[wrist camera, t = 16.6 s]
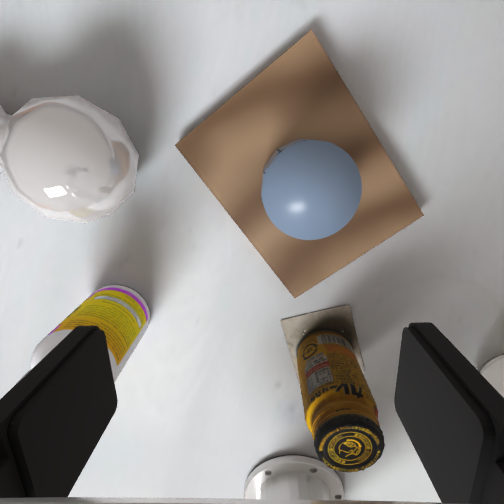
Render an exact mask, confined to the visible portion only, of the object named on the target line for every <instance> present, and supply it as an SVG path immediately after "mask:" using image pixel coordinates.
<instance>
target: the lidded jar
mask: <svg viewBox="0 0 504 504" xmlns="http://www.w3.org/2000/svg"><path fill="white" fill-rule="evenodd" d="M480 374H481V375H482V376H483V377H484V378H485V379H486V380H487V381H488V382H489V383H490V384H491V385H492V386H493V387H494V388H495V389H496V390H497V391H498V392H499V393H500V394H501V395H502V396H503V398H504V354H503V355H500V356H497V357H495V358H493V359H491V360H490V361H489V362H487V363H486V364H485V365H484V366H483V368H482V369H481V371H480Z"/></svg>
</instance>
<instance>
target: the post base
mask: <svg viewBox="0 0 504 504" xmlns="http://www.w3.org/2000/svg"><path fill="white" fill-rule="evenodd" d="M298 139H309V140H320V141H328V142H330V143H333V144H335V145H336V146H338V147H340V148H341V149H343V150H344V151H345V152H347V153H348V154H349V155H350V156H351V158H352V159H353V160H354V162H355V164H356V165H357V167H358V170H359V172H360V176H361V182H362V194H361V199H360V203H359V206H358V208H357V210H356V212H355V214H354V216H353V217H352V218H351V220H350V221H349V222H348V223H347V224H346V225H345V226H344V227H343V228H342V229H341V230H339V231H338V232H336V233H334V234H332V235H330V236H328V237H325V238H322V239H317V240H302V239H297V238H294V237H291V236H289V235H287V234H285V233H283V232H282V231H281V230H279V229H278V228H277V227H276V226H275V225H274V224H273V223H272V221H271V220H270V219H269V217H268V215H267V213H266V211H265V208H264V204H263V202H262V200H261V186H262V177H263V168H264V166H265V164H266V163H267V162H268V160H269V159H270V157H271V156H272V155H273V153H274V152H275V150H277V151H279V150H278V148H279V147H281V146H284V145H286V144H288V143H290V142H292V141H294V140H298ZM175 146H176V147H177V149H178V150H179V151H180V152H181V154H182V155H183V156H184V158H185V159H186V160H187V161H188V163H189V164H190V165H191V166H192V168H193V169H194V170H195V172H196V173H197V174H198V175H199V177H200V178H201V179H202V181H203V182H204V183H205V184H206V186H207V187H208V188H209V189H210V191H211V192H212V193H213V195H214V196H215V197H216V198H217V200H218V201H219V202H220V204H221V205H222V206H223V207H224V209H225V210H226V211H227V212H228V214H229V215H230V216H231V218H232V219H233V220H234V221H235V223H236V224H237V225H238V227H239V228H240V229H241V230H242V232H243V233H244V234H245V235H246V237H247V238H248V239H249V241H250V242H251V243H252V244H253V246H254V247H255V248H256V250H257V251H258V252H259V253H260V255H261V256H262V257H263V258H264V260H265V261H266V262H267V264H268V265H269V266H270V267H271V269H272V270H273V271H274V273H275V274H276V275H277V276H278V278H279V279H280V280H281V281H282V283H283V284H284V285H285V287H286V288H287V289H288V290H289V292H290V293H291V294H292V296H293V297H294V298H296V297H298V296H299V295H301V294H302V293H304V292H305V291H307V290H309V289H310V288H312V287H313V286H315V285H316V284H318V283H319V282H321V281H323V280H324V279H326V278H327V277H329V276H330V275H332V274H333V273H335V272H337V271H338V270H340V269H341V268H343V267H344V266H346V265H347V264H349V263H351V262H352V261H354V260H355V259H357V258H358V257H360V256H361V255H363V254H365V253H366V252H368V251H369V250H371V249H372V248H374V247H375V246H377V245H379V244H380V243H382V242H383V241H385V240H386V239H388V238H389V237H391V236H393V235H394V234H396V233H397V232H399V231H400V230H402V229H403V228H405V227H407V226H408V225H410V224H411V223H413V222H414V221H416V220H417V219H419V218H421V217H422V216H424V214H423V213H422V211H421V209H420V208H419V206H418V205H417V203H416V201H415V200H414V198H413V196H412V195H411V193H410V191H409V190H408V188H407V186H406V185H405V183H404V181H403V180H402V178H401V176H400V175H399V173H398V171H397V170H396V168H395V167H394V165H393V163H392V162H391V160H390V158H389V157H388V155H387V153H386V152H385V150H384V148H383V147H382V145H381V143H380V142H379V140H378V138H377V137H376V135H375V133H374V132H373V130H372V128H371V127H370V125H369V124H368V122H367V120H366V119H365V117H364V115H363V114H362V112H361V110H360V109H359V107H358V105H357V104H356V102H355V100H354V99H353V97H352V95H351V94H350V92H349V90H348V89H347V87H346V86H345V84H344V82H343V81H342V79H341V77H340V76H339V74H338V72H337V71H336V69H335V67H334V66H333V64H332V62H331V61H330V59H329V57H328V56H327V54H326V52H325V51H324V49H323V47H322V46H321V44H320V43H319V41H318V39H317V38H316V36H315V34H314V33H313V31H312V30H311V31H310V32H308V33H307V34H306V35H305V36H304V37H303V38H301V39H300V40H299V41H298V42H297V43H295V44H294V45H293V46H292V47H291V48H290V49H288V50H287V51H286V52H285V53H284V54H282V55H281V56H280V57H279V58H278V59H276V60H275V61H274V62H273V63H272V64H271V65H269V66H268V67H267V68H266V69H265V70H263V71H262V72H261V73H260V74H259V75H258V76H256V77H255V78H254V79H253V80H252V81H250V82H249V83H248V84H247V85H246V86H245V87H243V88H242V89H241V90H240V91H239V92H237V93H236V94H235V95H234V96H233V97H231V98H230V99H229V100H228V101H227V102H226V103H224V104H223V105H222V106H221V107H220V108H218V109H217V110H216V111H215V112H214V113H213V114H211V115H210V116H209V117H208V118H207V119H205V120H204V121H203V122H202V123H201V124H199V125H198V126H197V127H196V128H195V129H194V130H192V131H191V132H190V133H189V134H188V135H186V136H185V137H184V138H183V139H182V140H181V141H179V142H178V143H177V144H176V145H175Z"/></svg>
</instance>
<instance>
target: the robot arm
mask: <svg viewBox="0 0 504 504" xmlns="http://www.w3.org/2000/svg"><path fill="white" fill-rule="evenodd" d="M394 402H395V408H396V411H397V414H398V416H399V418H400V420H401V422H402V424H403V426H404V428H405V430H406V432H407V434H408V436H409V438H410V440H411V442H412V444H413V446H414V448H415V450H416V452H417V454H418V456H419V458H420V460H421V462H422V464H423V466H424V468H425V470H426V472H427V474H428V476H429V478H430V480H431V482H432V484H433V486H434V488H435V490H436V492H437V494H438V496H439V498H440V500H441V502H442V503H430V502H399V501H346V500H344V490H343V486H342V483H341V480H340V478H339V476H338V475H337V473H336V472H335V471H334V470H333V469H331V468H329V467H327V465H326V464H324V463H323V462H321V461H319V460H317V459H313V458H310V457H305V456H299V455H288V456H281V457H277V458H273V459H270V460H268V461H266V462H264V463H262V464H261V465H259V466H258V467H256V468H255V469H254V470H253V471H252V472H251V473H250V475H249V477H248V478H247V480H246V483H245V488H244V499H216V498H96V497H68V495H69V493H70V491H71V490H72V488H73V486H74V484H75V482H76V481H77V479H78V477H79V475H80V473H81V472H82V470H83V468H84V466H85V465H86V463H87V461H88V459H89V457H90V456H91V454H92V452H93V450H94V449H95V447H96V445H97V443H98V441H99V440H100V438H101V436H102V434H103V432H104V431H105V429H106V427H107V425H108V424H109V422H110V420H111V418H112V416H113V415H114V413H115V411H116V408H117V395H116V390H115V384H114V379H113V373H112V368H111V363H110V357H109V352H108V346H107V341H106V335H105V332H104V331H103V330H100V328H99V327H98V326H77V327H75V328H74V329H73V330H72V331H71V332H70V333H69V334H68V335H67V336H66V337H65V338H64V339H63V340H62V341H61V342H60V343H59V344H58V345H57V346H56V347H55V348H53V349H52V350H51V351H50V352H49V353H48V354H47V355H46V356H45V357H44V358H43V359H42V360H41V361H40V362H39V363H38V364H37V365H36V366H35V367H34V368H33V369H32V370H31V371H29V372H28V373H27V374H26V375H25V376H24V377H23V378H22V379H21V380H20V381H19V382H18V383H17V384H16V385H15V386H14V387H13V388H12V389H11V390H10V391H9V392H8V393H7V394H6V395H4V396H3V397H2V398H1V399H0V504H504V398H503V396H502V395H501V394H500V393H499V392H498V391H497V390H496V389H495V388H494V387H493V386H492V385H491V384H490V383H489V382H488V381H487V380H486V379H485V378H484V377H483V376H482V375H481V374H480V372H479V371H478V370H477V369H476V368H475V367H474V366H473V365H472V364H471V363H470V362H469V361H468V360H467V359H466V358H465V357H464V356H463V355H462V354H461V353H460V352H459V351H458V349H457V348H456V347H455V346H454V345H453V344H452V343H451V342H450V341H449V340H448V339H447V338H446V337H445V336H444V335H443V334H442V333H441V332H440V331H439V330H438V329H437V328H436V326H435V325H434V324H432V323H410V324H409V327H406V328H404V329H403V333H402V341H401V350H400V358H399V366H398V374H397V382H396V391H395V400H394Z"/></svg>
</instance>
